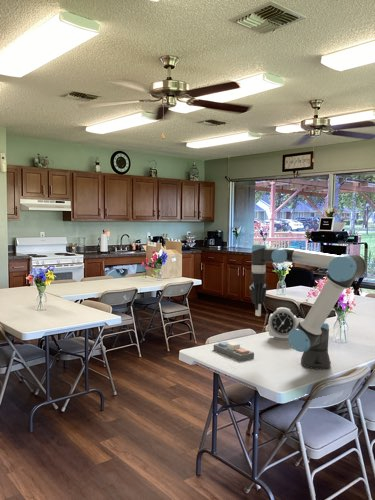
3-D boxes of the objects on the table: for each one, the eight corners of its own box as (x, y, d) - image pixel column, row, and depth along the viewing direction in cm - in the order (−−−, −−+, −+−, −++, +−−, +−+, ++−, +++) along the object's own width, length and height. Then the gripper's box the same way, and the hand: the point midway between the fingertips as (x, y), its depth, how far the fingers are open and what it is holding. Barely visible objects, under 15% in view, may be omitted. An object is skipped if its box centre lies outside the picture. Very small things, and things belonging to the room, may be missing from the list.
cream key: (239, 349, 241) (239, 344, 241) (232, 350, 238) (233, 345, 238) (233, 347, 245) (234, 342, 245) (227, 348, 242) (227, 343, 242)
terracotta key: (248, 355, 235) (248, 350, 235) (241, 357, 232) (242, 351, 232) (242, 353, 239) (242, 348, 239) (235, 354, 236) (235, 349, 236)
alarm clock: (267, 339, 274) (268, 308, 272) (268, 336, 282) (269, 305, 281) (296, 342, 269) (298, 310, 268) (296, 338, 278) (297, 307, 276)
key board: (253, 358, 235) (254, 352, 235) (240, 361, 230) (240, 355, 229) (226, 347, 254) (227, 342, 254) (213, 349, 248) (213, 344, 248)
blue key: (230, 348, 247) (231, 343, 247) (224, 350, 244) (224, 344, 244) (225, 346, 251) (225, 341, 251) (218, 347, 249) (218, 342, 248)
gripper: (261, 271, 242) (261, 313, 243) (245, 272, 234) (244, 316, 235) (271, 272, 236) (271, 315, 237) (255, 273, 228) (254, 318, 229)
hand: (258, 315), depth 236 cm, fingers closed
